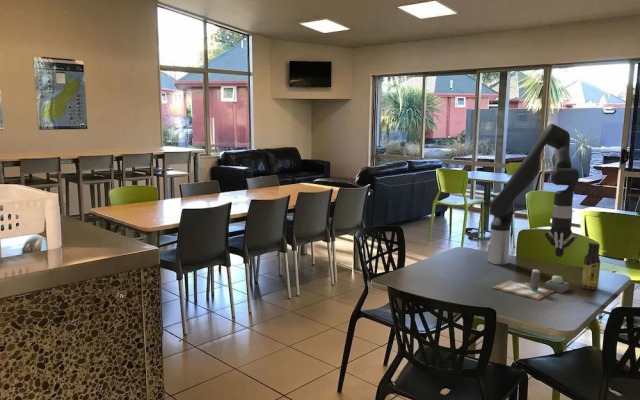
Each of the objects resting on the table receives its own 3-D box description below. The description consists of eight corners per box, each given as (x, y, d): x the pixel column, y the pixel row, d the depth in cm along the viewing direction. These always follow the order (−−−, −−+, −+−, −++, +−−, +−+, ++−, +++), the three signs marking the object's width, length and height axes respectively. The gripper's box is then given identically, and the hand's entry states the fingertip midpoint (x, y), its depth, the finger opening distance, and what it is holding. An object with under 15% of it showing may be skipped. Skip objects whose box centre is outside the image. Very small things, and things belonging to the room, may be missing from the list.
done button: (550, 284, 220) (550, 276, 219) (554, 282, 222) (554, 274, 222) (559, 286, 217) (560, 278, 216) (563, 284, 220) (564, 276, 219)
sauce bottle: (591, 291, 217) (595, 245, 214) (578, 287, 223) (581, 242, 220) (601, 289, 220) (605, 243, 217) (587, 285, 226) (591, 240, 223)
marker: (528, 290, 217) (530, 270, 215) (532, 288, 219) (534, 268, 217) (536, 292, 214) (538, 272, 213) (539, 290, 216) (541, 270, 215)
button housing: (544, 289, 220) (545, 282, 220) (551, 285, 225) (552, 279, 224) (561, 293, 215) (561, 286, 215) (568, 289, 220) (568, 282, 219)
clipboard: (492, 288, 221) (492, 286, 221) (509, 281, 231) (509, 278, 231) (538, 300, 206) (538, 297, 206) (554, 292, 216) (554, 289, 216)
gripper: (582, 217, 213) (579, 257, 216) (550, 212, 223) (547, 252, 225) (574, 219, 208) (571, 261, 210) (542, 215, 217) (539, 255, 220)
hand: (559, 256), depth 218 cm, fingers closed
